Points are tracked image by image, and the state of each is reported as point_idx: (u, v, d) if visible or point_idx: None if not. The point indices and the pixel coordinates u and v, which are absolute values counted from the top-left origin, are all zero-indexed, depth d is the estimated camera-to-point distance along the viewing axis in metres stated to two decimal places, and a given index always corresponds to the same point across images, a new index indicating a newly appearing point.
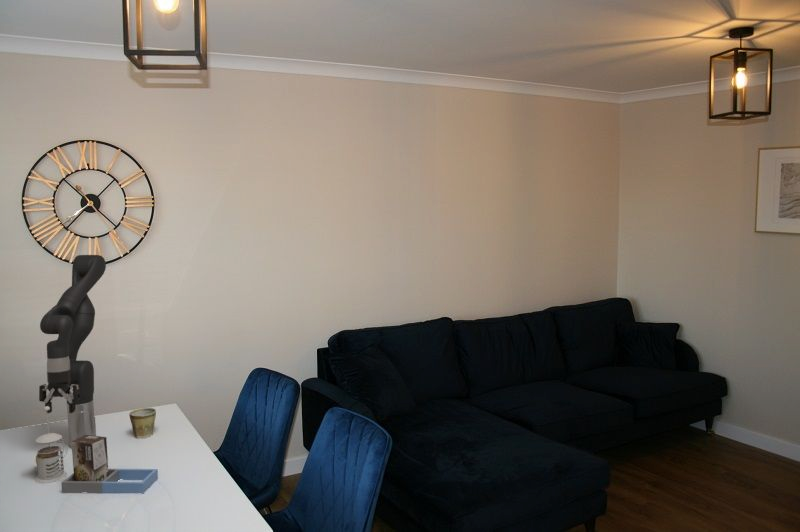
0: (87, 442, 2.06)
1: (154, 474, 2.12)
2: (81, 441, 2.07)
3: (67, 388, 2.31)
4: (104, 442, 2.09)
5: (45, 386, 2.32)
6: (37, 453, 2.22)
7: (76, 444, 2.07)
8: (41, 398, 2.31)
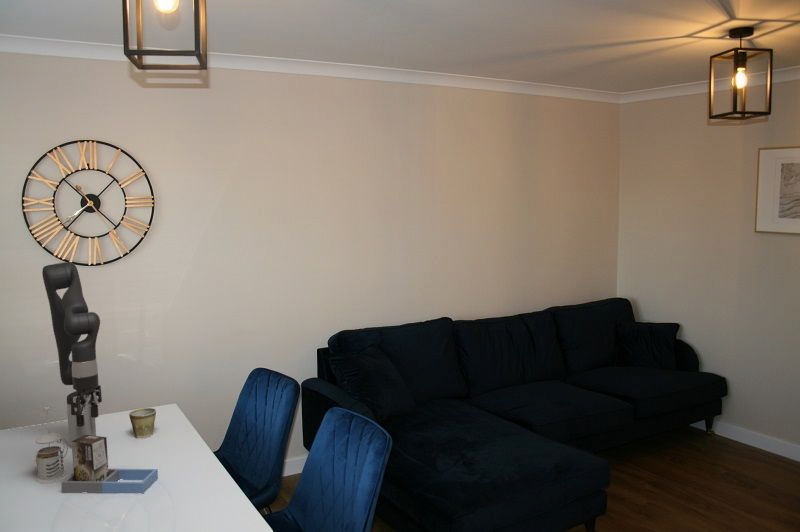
0: (87, 442, 2.06)
1: (154, 474, 2.12)
2: (81, 441, 2.07)
3: (95, 390, 2.11)
4: (104, 442, 2.09)
5: (78, 397, 2.02)
6: (37, 453, 2.22)
7: (76, 444, 2.07)
8: (79, 411, 2.01)
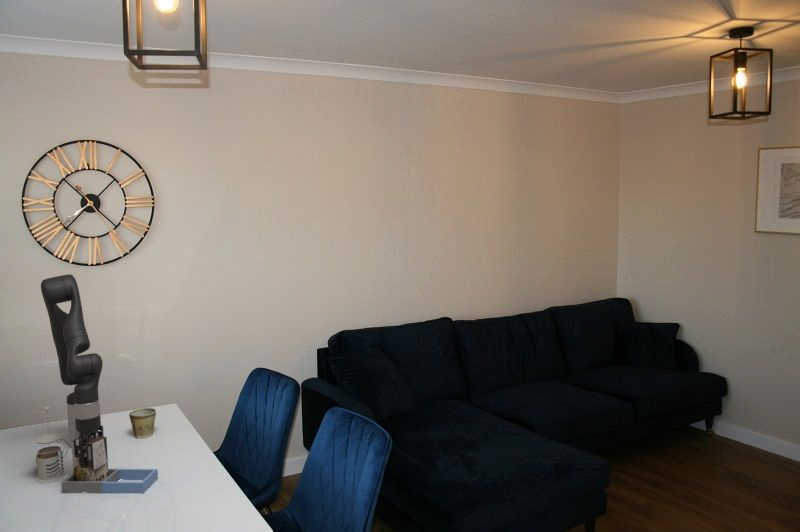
0: (87, 442, 2.06)
1: (154, 474, 2.12)
2: None
3: (97, 431, 2.12)
4: (104, 442, 2.09)
5: (81, 439, 2.04)
6: (37, 453, 2.22)
7: None
8: (83, 453, 2.03)
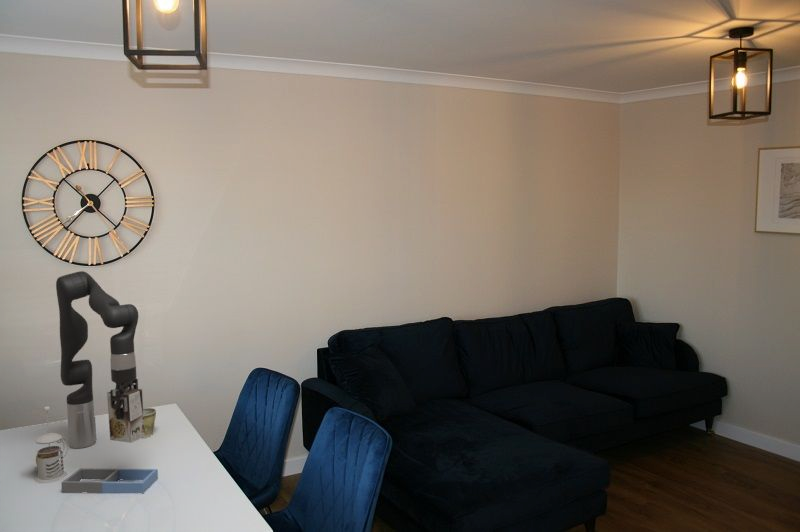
0: None
1: (154, 474, 2.12)
2: None
3: (132, 383, 2.10)
4: (140, 394, 2.07)
5: (118, 389, 2.01)
6: (37, 453, 2.22)
7: None
8: (119, 404, 2.01)
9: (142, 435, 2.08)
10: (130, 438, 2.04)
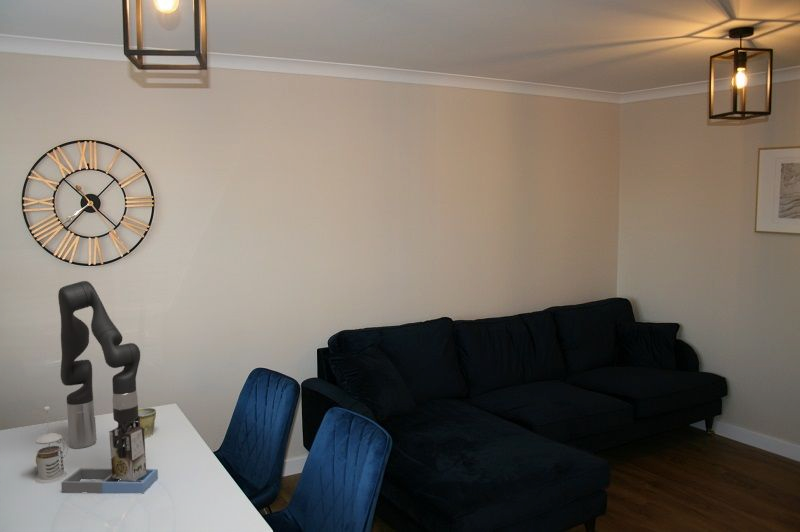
0: None
1: (154, 474, 2.12)
2: None
3: (134, 421, 2.11)
4: (142, 432, 2.08)
5: None
6: (37, 453, 2.22)
7: None
8: (121, 443, 2.02)
9: (144, 473, 2.10)
10: (132, 477, 2.05)
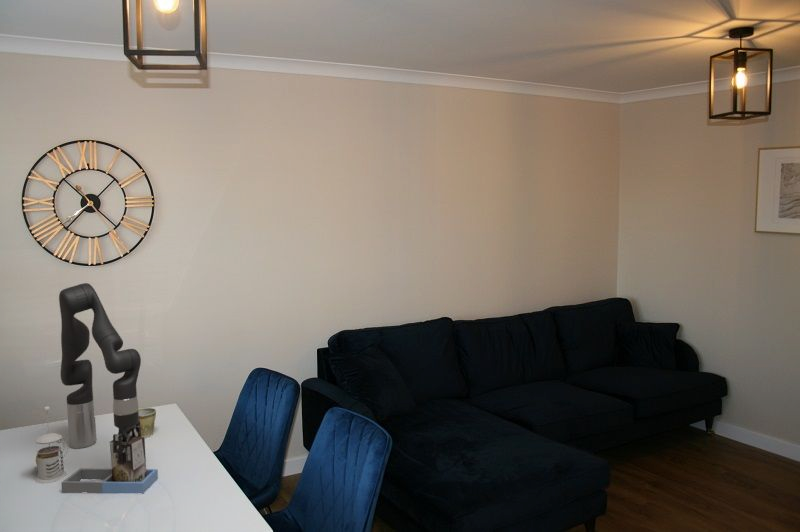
0: None
1: (154, 474, 2.12)
2: None
3: (135, 426, 2.11)
4: (142, 442, 2.09)
5: None
6: (37, 453, 2.22)
7: None
8: (122, 449, 2.02)
9: None
10: None
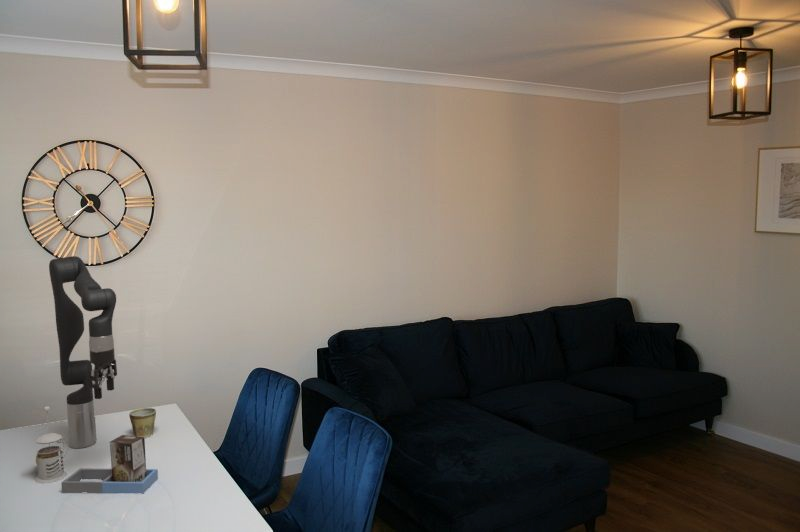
0: (126, 442, 2.06)
1: (154, 474, 2.12)
2: (120, 441, 2.06)
3: (111, 364, 2.17)
4: (142, 442, 2.09)
5: None
6: (37, 453, 2.22)
7: (114, 444, 2.06)
8: (97, 384, 2.08)
9: None
10: None
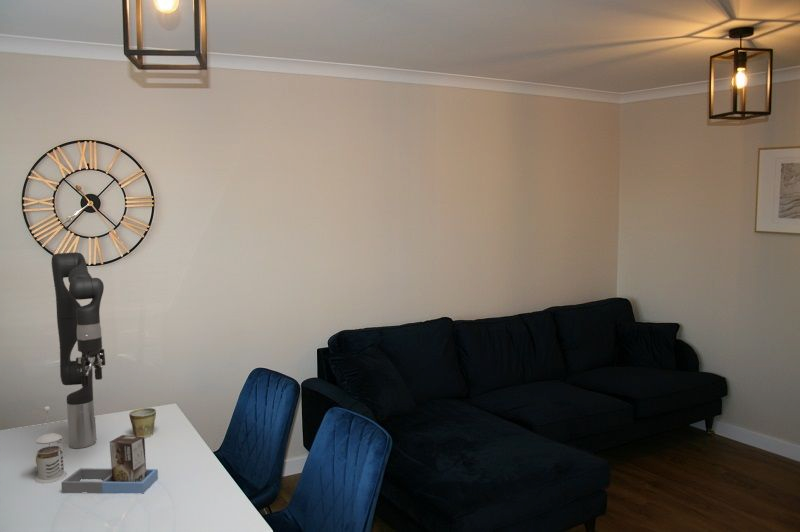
0: (126, 442, 2.06)
1: (154, 474, 2.12)
2: (120, 441, 2.06)
3: (99, 353, 2.20)
4: (142, 442, 2.09)
5: (83, 358, 2.11)
6: (37, 453, 2.22)
7: (114, 444, 2.06)
8: (84, 371, 2.11)
9: None
10: None
